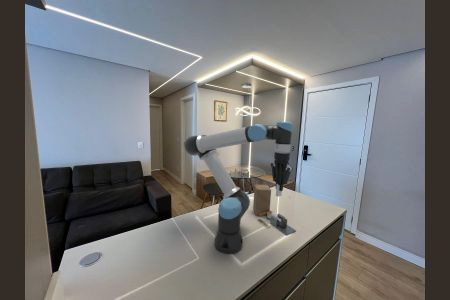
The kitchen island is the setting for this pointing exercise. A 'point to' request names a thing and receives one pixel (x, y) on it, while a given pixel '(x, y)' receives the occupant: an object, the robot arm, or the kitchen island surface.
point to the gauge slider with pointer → (280, 221)
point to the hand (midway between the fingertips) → (278, 195)
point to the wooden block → (261, 199)
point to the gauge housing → (274, 223)
